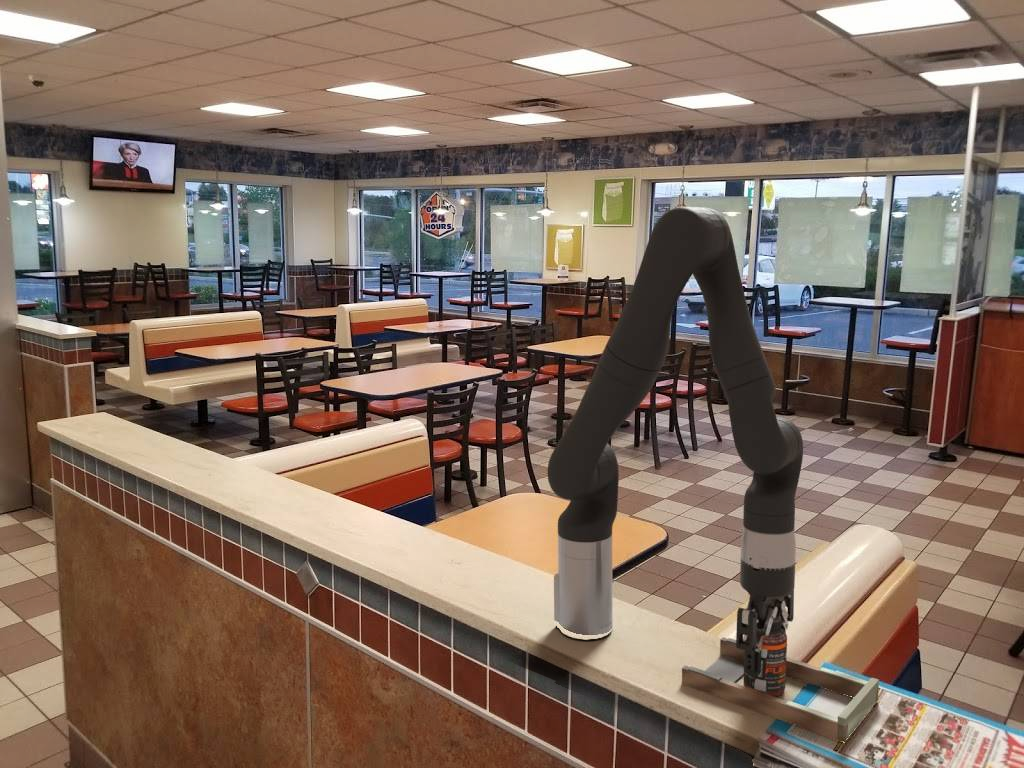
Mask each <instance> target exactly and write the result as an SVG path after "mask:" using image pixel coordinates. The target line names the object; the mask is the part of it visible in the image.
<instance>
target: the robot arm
mask: <svg viewBox="0 0 1024 768" xmlns="http://www.w3.org/2000/svg"><path fill="white" fill-rule="evenodd" d="M736 253H737V252H736V249H735V244H734V239H733V236H732V232H731V228H730V226H729V223H728V220H726V218H725V217H724V215H722V213H720V212H718V211H717V210H716V209H713V208H709V207H703V206H702V207H701V206H677V207H674V208H673V207H672V208H671V209H669V210H668V211H666V212H665V213H664V214H662V215H661V216H660V218H658V220H657V222H656V224H655V225H654V227H653V229H652V231H651V233H650V236H649V239H648V242H647V245H646V247H645V250H644V254H643V256H642V259H641V263H640V266H639V268H638V272H637V275H636V278H635V280H634V284H633V286H632V287H631V291H630V293H629V294H628V297H627V300H626V302H625V304H624V306H623V308H622V310H621V313H620V314H619V316H618V319H617V322H616V324H615V326H614V328H613V331H612V333H611V334H610V336H609V338H608V339H607V342H606V344H605V347H604V349H603V351H602V353H601V355H600V358H599V360H598V362H597V365H596V368H595V370H594V372H593V374H592V377H591V379H590V380H589V383H588V385H587V388H586V390H585V392H584V394H583V396H582V398H581V399H580V400H581V401H580V403H579V405H578V407H577V409H576V411H575V413H574V415H573V417H572V419H571V421H570V422H569V424H568V426H567V428H566V429H565V431H564V433H563V434H562V436H561V438H559V441H558V442H557V445H556V446H555V447H554V449H553V450H552V453H551V455H550V456H549V457H550V458H549V459H548V464H547V480H548V484H549V487H550V488H551V490H552V492H553V493H554V494H555V495H556V496H557V497H559V498H561V499H564V500H569V504H568V505H567V507H566V508H565V509H564V510H563V511H562V512H561V513H560V515H559V516H558V520H557V551H558V552H557V553H558V555H557V557H558V558H557V559H558V560H557V562H558V567H557V571H558V572H557V573H555V574H554V575H553V601H554V602H553V618H554V619H553V621H554V620H555V621H557V622H559V624H560V625H561V626H562V627H563V628H564V629H566V630H568V631H570V632H573V633H576V634H582V635H598V634H604V633H607V632H609V631H610V630H611V629H612V628H613V620H614V618H613V605H614V604H613V603H614V602H613V525H614V523H615V520H616V518H617V514H618V501H619V500H618V499H619V497H618V496H619V480H620V479H619V478H620V477H619V470H620V469H619V463H618V458H617V455H616V453H615V451H614V449H613V448H612V446H611V445H610V444H609V441H610V440H611V438H612V437H613V435H614V434H615V433H616V432H617V430H618V429H619V428H620V427H621V426H622V424H624V422H626V420H628V418H629V417H631V415H632V414H633V413H634V412H635V410H637V409H638V407H639V406H640V405H641V404H642V402H643V401H644V400H645V399H646V397H647V396H648V394H649V393H650V391H651V389H652V388H653V386H654V384H655V382H656V380H657V378H658V376H659V375H660V373H661V371H662V368H663V367H664V364H665V361H666V358H667V355H668V351H669V347H670V338H671V323H672V317H673V314H674V310H675V307H676V305H677V302H678V300H679V299H680V297H681V295H682V293H683V292H684V291H683V290H684V289H685V287H686V285H687V284H688V282H689V280H690V279H691V278H692V275H693V278H694V280H695V281H696V283H697V286H698V287H699V289H700V292H701V294H702V298H703V301H704V304H705V310H706V315H707V323H708V324H707V325H708V327H707V328H708V343H709V349H710V356H711V360H712V364H713V366H714V370H715V372H716V374H717V375H716V376H717V378H718V381H719V383H720V386H721V388H722V391H723V394H724V396H725V399H726V401H727V404H728V414H729V421H730V427H731V433H732V439H733V443H734V446H735V448H736V451H737V454H738V456H739V458H740V459H741V461H742V463H743V464H744V465H745V466H746V467H747V469H749V470H751V471H752V472H753V473H752V474H753V476H752V479H751V483H750V485H749V486H748V487H747V488H746V490H745V492H744V497H743V520H742V521H743V522H742V524H743V525H742V532H741V537H740V539H741V540H740V569H739V570H740V573H739V578H740V579H739V582H740V586H741V588H742V589H743V590H745V591H746V592H747V594H748V595H749V599H748V603H747V607H746V608H743V607H741V606H740V607H739V608H738V609H737V610H736V611H737V613H736V633H735V640H736V648H738V649H742V650H745V656H744V671H745V672H746V673H748V674H751V675H754V676H758V675H759V674H760V673H761V648H762V644H763V641H764V638H767V637H768V636H769V632H770V629H771V625H772V622H773V619H775V617H776V616H777V615H779V616H780V617H781V629H783V630H784V631H785V633H786V631H787V630H788V628H789V622H790V623H792V622H793V620H794V615H795V614H794V610H795V609H794V606H795V605H794V604H795V585H796V584H795V580H796V579H795V578H796V550H797V543H796V535H795V522H796V521H795V519H796V493H797V488H798V486H799V480H800V474H801V469H802V464H803V458H804V440H803V436H802V434H801V431H800V429H799V427H798V426H797V425H796V424H795V423H794V422H792V421H791V420H789V419H787V418H785V417H779V416H776V411H775V407H774V403H773V399H774V397H775V396H776V392H777V390H776V389H777V388H776V383H775V380H774V378H773V377H774V376H773V375H772V372H771V369H770V367H769V364H768V361H767V359H766V357H765V356H766V355H765V353H764V350H763V349H762V346H761V344H760V341H759V337H758V335H757V332H756V329H755V326H754V324H753V323H754V322H753V320H752V316H751V313H750V309H749V307H748V303H747V299H746V295H745V292H744V286H743V283H742V278H741V275H740V269H739V265H738V264H739V263H738V260H737V254H736ZM757 626H760V627H764V628H763V629H758V628H757ZM612 630H613V629H612ZM786 634H787V633H786ZM756 635H758V638H757V641H756Z"/></svg>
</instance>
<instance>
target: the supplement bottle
mask: <svg viewBox="0 0 1024 768" xmlns="http://www.w3.org/2000/svg"><path fill="white" fill-rule="evenodd" d="M757 628H758V629H763V628H764V627H760V626H757ZM757 638H758V635H756V641H757ZM787 650H788V635H787V633H785V631H784V630H783V629H781V617H780V616H779V615H777V616H776V617H775V619H773V622H772V625H771V629H770V632H769V636H768V637H767V638H764V641H763V644H762V648H761V673H760V674H759V675H758V676H754V675H751V674H748V673H746V672H745V671H744V676H743V677H742V678H743V686H745V687H748V688H751V689H754V690H756V691H759V692H762V693H765V694H768V695H771V696H773V697H778V696H781V695H782V694H783V693H784V692H785V689H786V681H787V680H786V679H787V678H786V677H787V676H786V657H788V656H787V653H788V652H787ZM744 656H745V650H744Z"/></svg>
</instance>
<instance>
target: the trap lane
mask: <svg viewBox="0 0 1024 768" xmlns="http://www.w3.org/2000/svg"><path fill="white" fill-rule="evenodd" d="M719 643H720V644H719V654H720V655H722V657H720V658H719V659H718V660H716V661H715V662H714V663H712V664H711V665H710V666H709V667H708V668H706V669H705V670H703V669H700V668H698V667H695V666H688V665H684V666H683V667H682V668H681V684H683V685H685V686H688V687H690V688H693V689H696V690H698V691H700V692H704V693H706V694H709V695H712V696H715V697H716V698H720V699H723V700H725V701H728V702H731V703H733V704H736V705H738V706H741V707H744V708H746V709H750V710H752V711H754V712H758V713H760V714H763V715H766V716H769V717H771V718H774V719H776V720H779V721H781V720H782V722H784V723H787V722H788V724H790V725H792V724H795V725H796V726H795V725H794V726H795V727H798V728H800V729H803V730H805V731H808V732H812V733H814V734H816V735H819V736H822V737H825V738H828V739H831V740H833V739H834V740H833V741H835V740H838V741H844V742H845V741H846V739H847V738H848V737H849V735H850V734H851V733H852V732H853V731H854V729H855V728H856V727H857V726H858V725H859V723H860V722H861V721H862V719H863V718H864V716H866V714H867V713H868V712H869V710H870V709H871V708H872V706H873V705H874V704H875V703H876V702H877V700H878V701H879V685H880V679H878V678H875V677H871V678H869V679H868V680H864V679H861V678H857V677H855V676H851V675H848V674H846V673H842V672H839V671H836V670H832V669H829V668H826V667H823V666H822V667H819V666H816V665H812V664H809V663H807V662H804V661H799V660H797V659H794V658H790V657H788V656H787V657H786V677H788V678H791V679H795V680H796V681H799V682H803V683H806V684H809V685H812V684H814V685H813V686H815V685H818V686H820V687H819V688H821V687H823V688H822V689H824V688H826V689H825V690H827V689H829V690H828V691H830V690H832V691H831V692H833V691H834V692H833V693H836V692H837V693H836V694H839V693H841V694H840V695H842V694H845V695H848V696H852V697H854V698H851V701H849V703H848V704H847V705H846V707H844V709H843V710H842V711H841V712H840V713H839V714H838V716H837V717H836V716H834V715H831V714H828V713H826V712H822V711H819V710H817V709H814V708H811V707H808V706H805V705H802V704H799V703H796V702H794V701H791V700H788V701H787V700H785V699H782V698H780V697H779V698H778V697H777V696H775V697H773V696H771V695H768V694H765V693H762V692H759V691H756V690H754V689H751V688H748V687H745V686H744V685H742V684H739V683H737V682H738V681H739V680H741V678H743V677H744V650H742V649H738V648H736V639H733V638H731V637H728V638H726V637H721V638H720V641H719ZM818 686H817V687H818ZM845 695H844V696H845ZM848 696H847V697H848ZM859 726H860V725H859ZM838 741H837V742H838ZM846 742H847V741H846Z"/></svg>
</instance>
